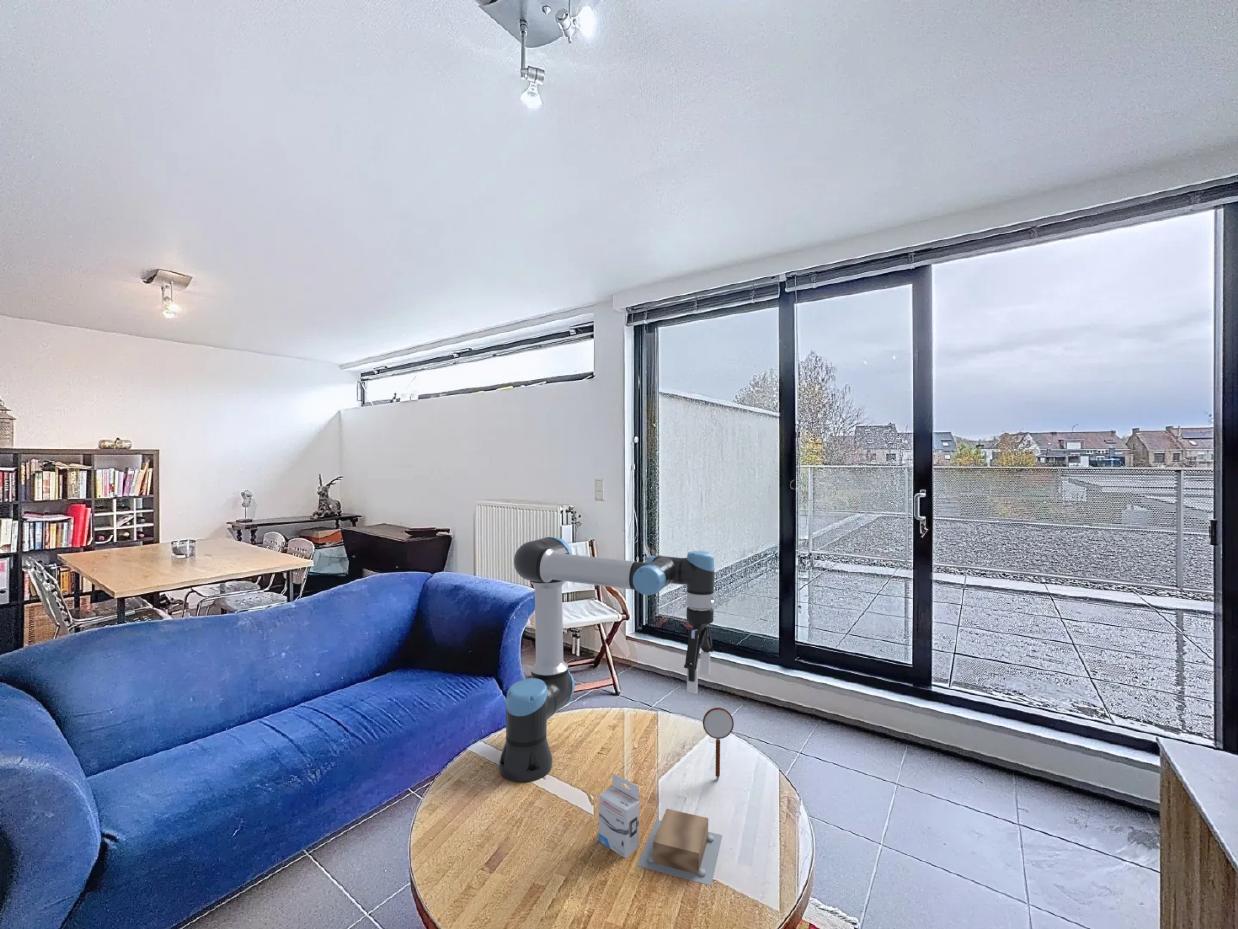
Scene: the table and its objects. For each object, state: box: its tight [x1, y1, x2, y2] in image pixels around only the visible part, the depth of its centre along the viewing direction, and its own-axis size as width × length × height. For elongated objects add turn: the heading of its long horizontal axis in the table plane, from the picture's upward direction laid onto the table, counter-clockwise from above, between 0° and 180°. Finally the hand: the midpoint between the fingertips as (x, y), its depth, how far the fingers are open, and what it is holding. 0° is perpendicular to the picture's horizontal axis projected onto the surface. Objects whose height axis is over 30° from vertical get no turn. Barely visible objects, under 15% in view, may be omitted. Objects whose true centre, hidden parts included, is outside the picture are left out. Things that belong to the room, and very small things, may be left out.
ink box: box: [598, 773, 640, 859], centre depth 120 cm, size 9×5×15 cm, turn 49°
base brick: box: [653, 808, 709, 874], centre depth 119 cm, size 10×12×4 cm
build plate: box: [636, 819, 723, 886], centre depth 119 cm, size 16×16×2 cm
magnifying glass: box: [702, 707, 735, 780], centre depth 148 cm, size 9×2×20 cm, turn 87°
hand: (698, 683), depth 148 cm, fingers open, 13 cm apart
